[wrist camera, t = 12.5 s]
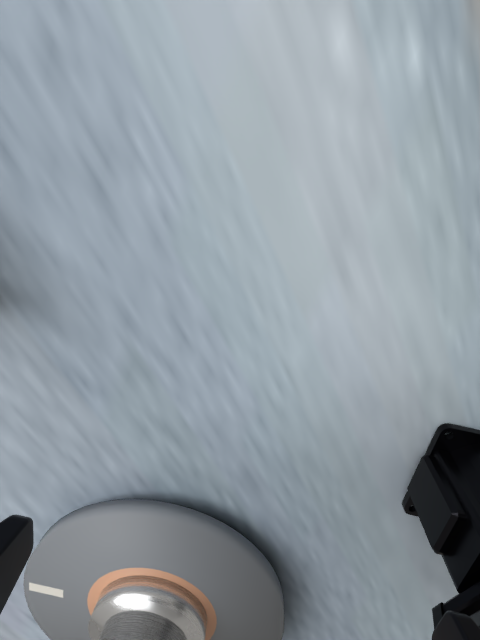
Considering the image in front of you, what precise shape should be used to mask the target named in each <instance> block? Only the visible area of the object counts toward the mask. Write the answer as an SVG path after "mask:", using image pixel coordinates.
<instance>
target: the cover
mask: <svg viewBox="0 0 480 640" xmlns="http://www.w3.org/2000/svg"><path fill="white" fill-rule="evenodd" d="M207 622H208V621H207V614H206V611H205V609H204V607H203V605H202V603H201V602H200V601H199V600H198V598H197V597H196V596H194V595H193V594H192V593H191V592H190V591H188V590H187V589H185V588H184V587H182V586H180V585H178V584H176V583H174V582H172V581H169V580H166V579H163V578H159V577H154V576H145V575H135V576H127V577H123V578H120V579H117V580H115V581H113V582H111V583H110V584H108V585H107V586H106V587H105V588H104V589H103V590H102V592H101V594H100V596H99V598H98V601H97V603H96V606H95V608H94V610H93V613H92V615H91V618H90V620H89V624H88V632H89V636H90V638H91V640H205V635H206V629H207Z"/></svg>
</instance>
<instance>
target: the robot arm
mask: <svg viewBox="0 0 480 640" xmlns="http://www.w3.org/2000/svg"><path fill="white" fill-rule="evenodd" d="M447 432H450V433H449V434H447V435H445V433H447ZM402 505H403V508H404V510H405V512H406V513H407V514H410V515H414V516H418V517H419V518H420V521H421V523H422V526H423V528H424V530H425V533H426V535H427V538H428V540H429V542H430V545H431V547H432V549H433V550H434V552H435V553H436V554H440V555H442V557H443V559H444V562H445V564H446V566H447V569H448V571H449V573H450V575H451V578H452V580H453V582H454V585H455V587H456V589H457V591H458V593H459V594H458V595H456V596H455V597H453V598H452V599H450V600H449V601H447V602H446V603H442V602H441V603H440V604H438V605H437V606H435V607H434V608H432V612H433V621H434V629H435V630H434V632H433V635H432V640H480V430H476V429H472V428H467V427H462V426H458V425H453V424H442V425H441V426H439V427H438V429H437V431H436V433H435V435H434V437H433V439H432V441H431V443H430V445H429V447H428V449H427V451H426V454H425V455H424V456H423V457H422V458H421V460H420V463H419V465H418V467H417V469H416V471H415V473H414V475H413V477H412V479H411V481H410V484H409V486H408V491H407V493H406V495H405V497H404V500H403V502H402ZM412 505H414V506H412ZM32 549H33V520H32V519H31V518H29V517H25V516H21V515H12V516H9V517H8V518H6V519H5V520H3V521H2V522H0V614H1V612H2V610H3V608H4V606H5V604H6V602H7V600H8V598H9V596H10V594H11V592H12V590H13V588H14V586H15V584H16V582H17V580H18V578H19V576H20V574H21V572H22V570H23V568H24V566H25V564H26V562H27V561H28V559H29V556H30V554H31V552H32Z"/></svg>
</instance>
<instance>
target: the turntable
mask: <svg viewBox="0 0 480 640" xmlns="http://www.w3.org/2000/svg"><path fill="white" fill-rule="evenodd" d="M135 575H145V576H154V577H159V578H163V579H166V580H169V581H172V582H174V583H176V584H178V585H180V586H182V587H184V588H185V589H187V590H188V591H190V592H191V593H192V594H193V595H194V596H196V597H197V598H198V600H199V601H200V602H201V603H202V605H203V607H204V609H205V611H206V614H207V621H208V622H207V629H206V635H205V640H281V639H282V636H283V630H284V600H283V593H282V588H281V585H280V582H279V579H278V577H277V575H276V573H275V571H274V569H273V568H272V566H271V565H270V563H269V562H268V560H267V559H266V558H265V556H264V555H263V554H262V553H261V552H260V551H259V550H258V549H257V548H256V547H255V546H254V545H253V544H252V543H251V542H250V541H249V540H248V539H246V538H245V537H244V536H243V535H241V534H240V533H239V532H237V531H236V530H234V529H232V528H231V527H229V526H228V525H226V524H225V523H223V522H221V521H219V520H217V519H215V518H213V517H211V516H209V515H206V514H204V513H201V512H198V511H196V510H193V509H191V508H187V507H183V506H180V505H176V504H172V503H166V502H161V501H155V500H142V499H122V500H112V501H105V502H99V503H96V504H92V505H88V506H85V507H83V508H80V509H78V510H75V511H73V512H71V513H69V514H68V515H66V516H64V517H63V518H61V519H60V520H59V521H57V522H56V523H55V524H54V525H53V526H52V527H51V528H50V529H49V530H48V531H47V532H46V534H45V535H44V536H43V538H42V539H41V541H40V542H39V544H38V545H37V547H36V549H35V550H34V552H33V553H32V555H31V557H30V559H29V561H28V563H27V566H26V570H25V573H24V592H25V598H26V601H27V604H28V607H29V609H30V611H31V613H32V615H33V617H34V619H35V621H36V622H37V623H38V625H39V626H40V628H41V629H42V630H43V632H44V633H45V634H46V635H47V636H48V637H49V638H50V639H51V640H91V638H90V636H89V632H88V624H89V620H90V618H91V615H92V613H93V610H94V608H95V606H96V603H97V601H98V598H99V596H100V594H101V592H102V590H103V589H104V588H105V587H106V586H107V585H108V584H110V583H111V582H113V581H115V580H117V579H120V578H123V577H127V576H135Z"/></svg>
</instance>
